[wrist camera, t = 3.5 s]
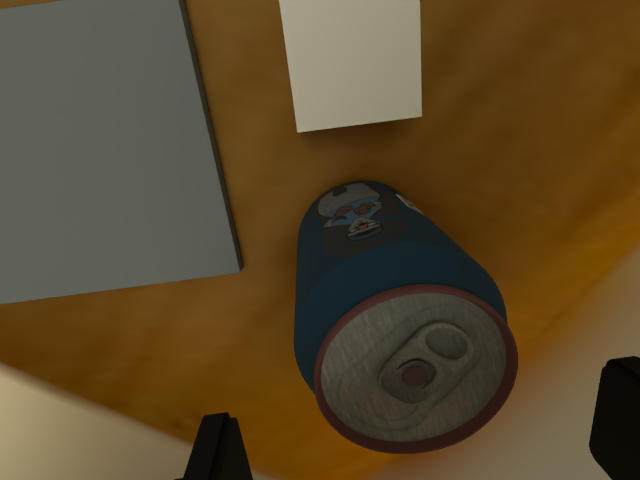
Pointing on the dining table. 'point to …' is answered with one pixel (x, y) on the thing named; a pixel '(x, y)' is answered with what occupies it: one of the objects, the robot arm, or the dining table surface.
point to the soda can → (397, 324)
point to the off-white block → (353, 61)
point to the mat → (106, 152)
